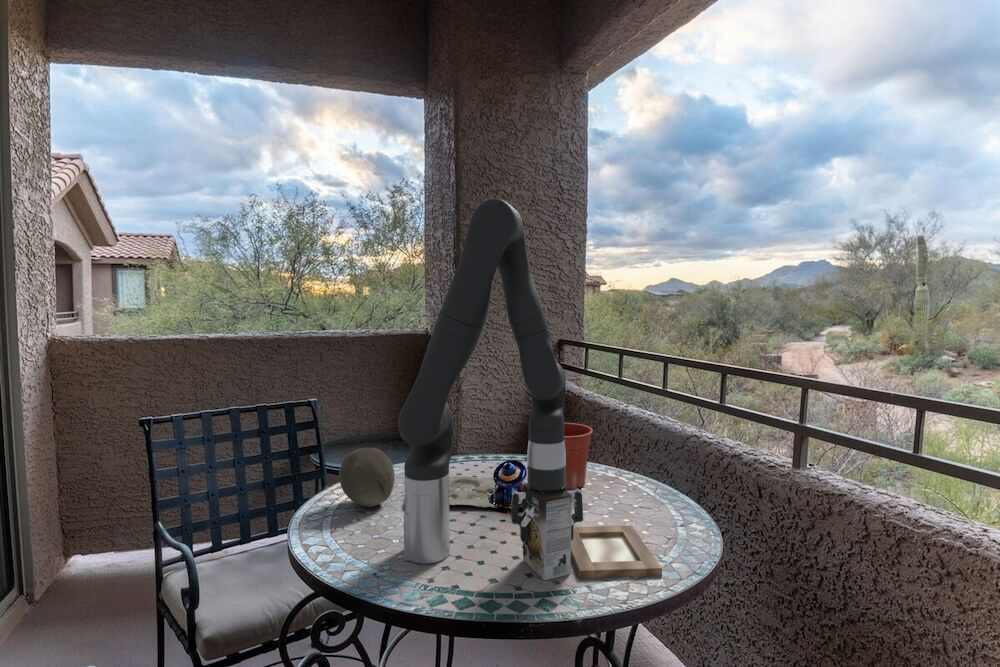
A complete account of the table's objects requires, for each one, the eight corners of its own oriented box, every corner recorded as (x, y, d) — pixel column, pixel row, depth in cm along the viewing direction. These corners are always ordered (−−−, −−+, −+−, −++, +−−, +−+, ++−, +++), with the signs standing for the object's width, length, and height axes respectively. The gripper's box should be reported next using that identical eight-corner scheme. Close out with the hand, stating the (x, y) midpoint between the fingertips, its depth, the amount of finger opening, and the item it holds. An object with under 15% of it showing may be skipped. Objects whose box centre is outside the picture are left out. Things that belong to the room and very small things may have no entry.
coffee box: (521, 560, 106) (521, 483, 105) (548, 553, 109) (548, 478, 108) (543, 581, 98) (543, 498, 97) (572, 574, 100) (572, 493, 99)
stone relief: (527, 513, 131) (524, 483, 151) (527, 502, 131) (524, 473, 150) (399, 513, 131) (414, 483, 151) (399, 502, 131) (414, 474, 151)
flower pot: (523, 481, 152) (523, 427, 151) (563, 470, 162) (564, 419, 161) (563, 498, 139) (563, 439, 138) (604, 485, 149) (604, 430, 148)
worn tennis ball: (397, 493, 143) (396, 440, 142) (392, 514, 129) (391, 455, 128) (344, 496, 141) (343, 442, 140) (334, 517, 127) (332, 458, 126)
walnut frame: (579, 578, 99) (580, 570, 99) (562, 533, 118) (562, 527, 118) (661, 575, 100) (661, 568, 100) (631, 531, 119) (631, 525, 119)
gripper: (512, 469, 98) (512, 552, 99) (586, 467, 98) (586, 550, 99) (509, 457, 105) (509, 535, 106) (578, 455, 106) (578, 532, 107)
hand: (546, 542), depth 103 cm, fingers closed on coffee box, 8 cm apart
